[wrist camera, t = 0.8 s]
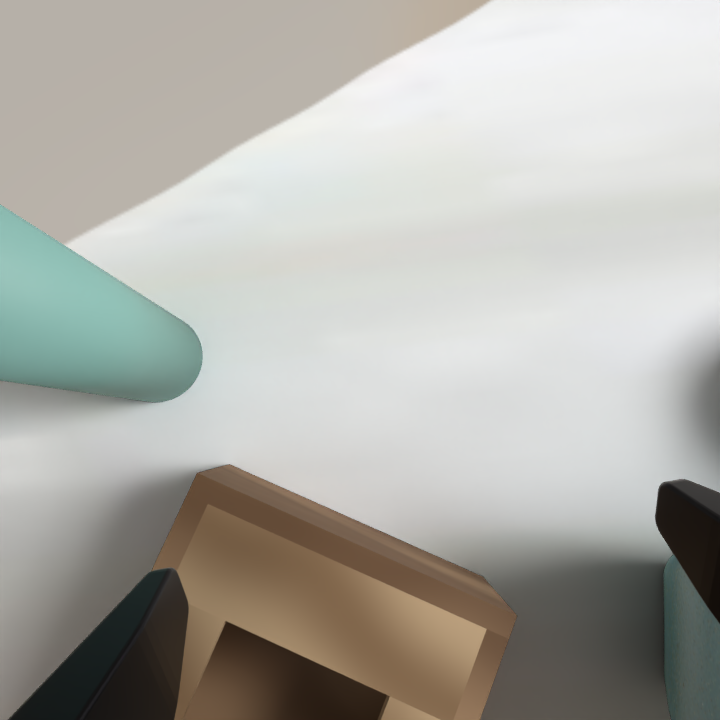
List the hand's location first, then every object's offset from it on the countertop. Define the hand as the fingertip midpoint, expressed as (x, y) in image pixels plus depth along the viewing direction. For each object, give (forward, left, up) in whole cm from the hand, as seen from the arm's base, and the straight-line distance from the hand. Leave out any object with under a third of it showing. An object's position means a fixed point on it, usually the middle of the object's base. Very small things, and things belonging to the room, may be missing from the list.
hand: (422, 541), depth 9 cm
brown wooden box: (-9, 0, -13) cm, 16 cm away
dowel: (+1, +11, -13) cm, 17 cm away
